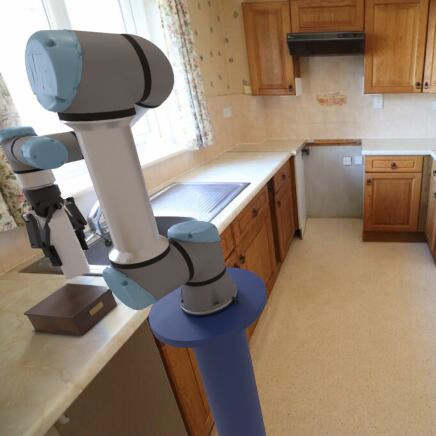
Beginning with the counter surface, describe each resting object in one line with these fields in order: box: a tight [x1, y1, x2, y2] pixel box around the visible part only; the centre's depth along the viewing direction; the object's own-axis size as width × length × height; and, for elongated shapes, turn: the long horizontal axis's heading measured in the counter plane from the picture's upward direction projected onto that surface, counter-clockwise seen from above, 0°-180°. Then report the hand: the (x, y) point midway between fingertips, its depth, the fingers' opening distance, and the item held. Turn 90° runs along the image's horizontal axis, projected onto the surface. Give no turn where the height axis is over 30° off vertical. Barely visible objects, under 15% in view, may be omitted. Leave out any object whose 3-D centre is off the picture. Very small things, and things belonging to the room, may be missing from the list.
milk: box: [38, 203, 91, 281], centre depth 94 cm, size 6×6×22 cm
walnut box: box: [23, 282, 118, 337], centre depth 87 cm, size 15×13×6 cm
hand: (71, 257), depth 97 cm, fingers closed on milk, 8 cm apart
